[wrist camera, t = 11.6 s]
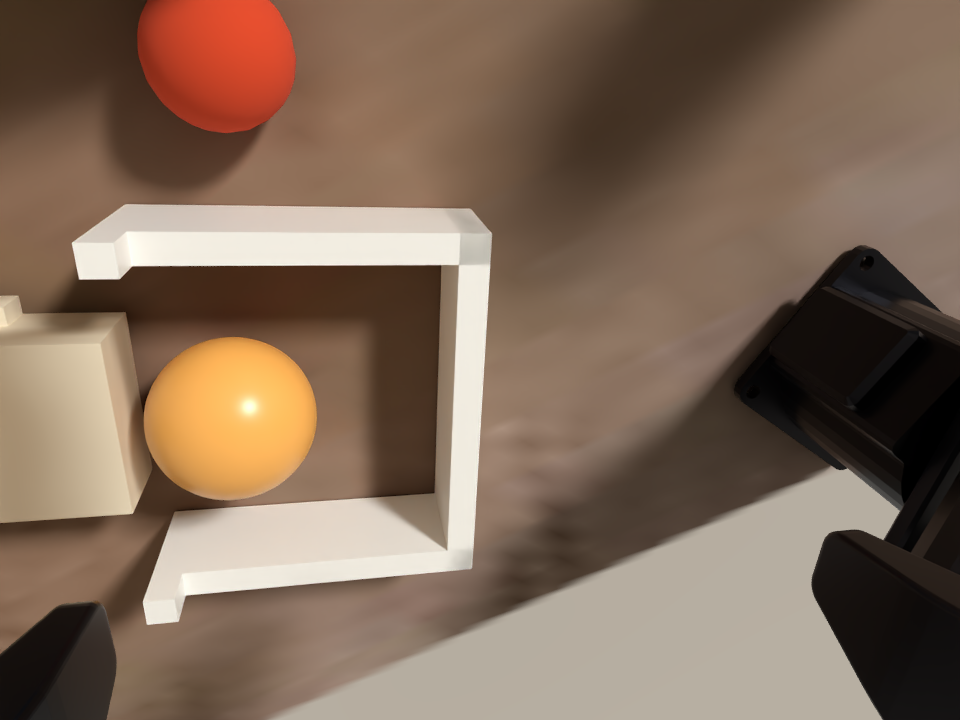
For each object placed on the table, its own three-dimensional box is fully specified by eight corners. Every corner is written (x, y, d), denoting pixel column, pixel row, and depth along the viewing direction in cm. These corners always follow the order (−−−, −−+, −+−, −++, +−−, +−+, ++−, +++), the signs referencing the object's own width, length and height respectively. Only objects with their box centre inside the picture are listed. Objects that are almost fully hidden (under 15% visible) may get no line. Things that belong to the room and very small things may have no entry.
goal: (470, 208, 19) (500, 244, 16) (456, 510, 24) (477, 591, 20) (125, 203, 18) (71, 242, 14) (177, 531, 22) (147, 624, 18)
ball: (75, 407, 17) (201, 347, 21) (169, 549, 18) (274, 467, 22) (175, 346, 15) (295, 292, 19) (277, 510, 16) (373, 427, 20)
